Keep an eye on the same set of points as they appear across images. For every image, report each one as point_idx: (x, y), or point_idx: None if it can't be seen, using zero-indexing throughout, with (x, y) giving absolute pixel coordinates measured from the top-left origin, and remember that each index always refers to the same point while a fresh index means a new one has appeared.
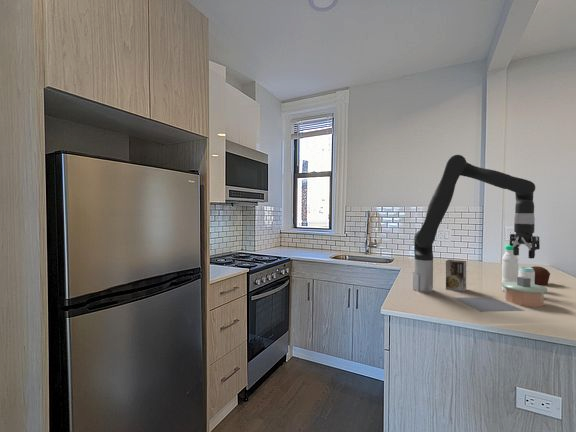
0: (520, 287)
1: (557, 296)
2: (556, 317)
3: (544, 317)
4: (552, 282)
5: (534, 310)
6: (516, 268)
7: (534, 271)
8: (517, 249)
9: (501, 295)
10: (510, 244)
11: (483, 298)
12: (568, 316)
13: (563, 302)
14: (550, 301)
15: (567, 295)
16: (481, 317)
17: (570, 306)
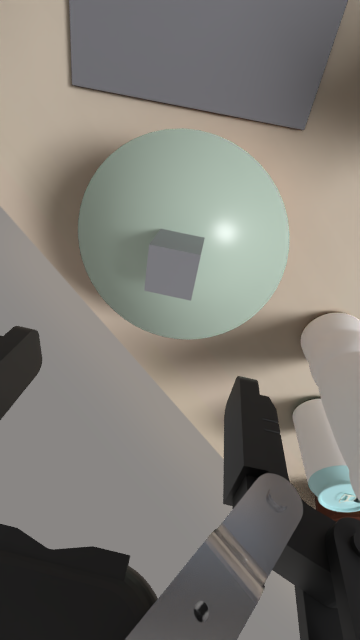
0: (154, 198)
1: (215, 408)
2: (9, 162)
3: (3, 103)
4: None
5: (91, 162)
6: (334, 424)
7: (310, 489)
8: (229, 466)
9: (307, 240)
10: (355, 546)
11: (304, 34)
12: (25, 224)
13: (160, 364)
14: (178, 340)
15: (214, 437)
16: None
17: (122, 341)
